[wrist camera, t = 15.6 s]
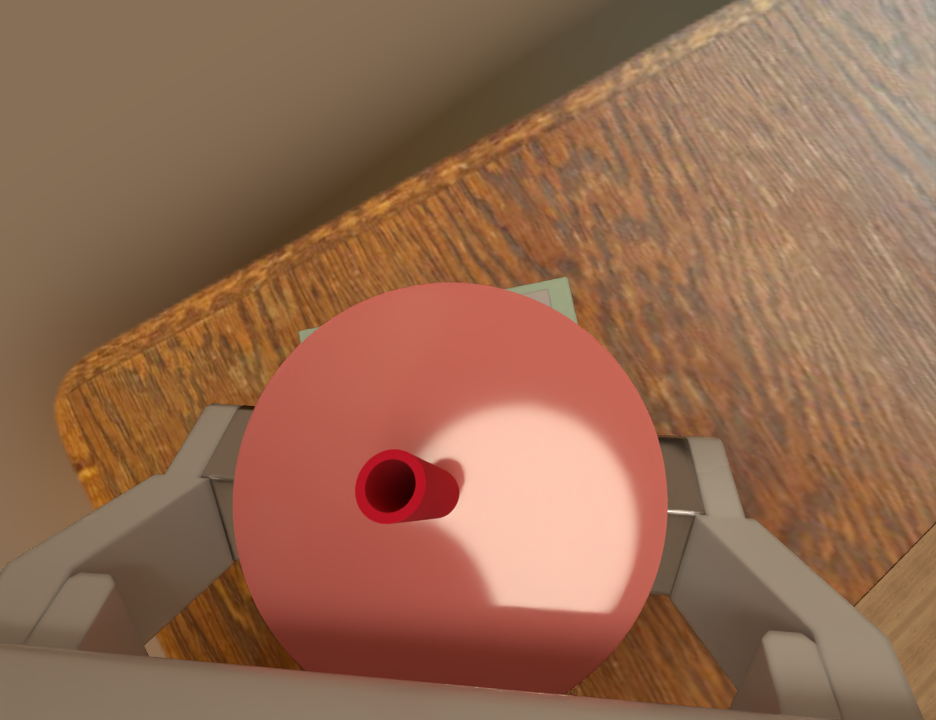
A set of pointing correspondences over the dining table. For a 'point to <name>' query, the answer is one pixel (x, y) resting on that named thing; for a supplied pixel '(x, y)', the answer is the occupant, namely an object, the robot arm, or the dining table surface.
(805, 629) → the robot arm
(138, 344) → the dining table surface
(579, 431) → the cup
